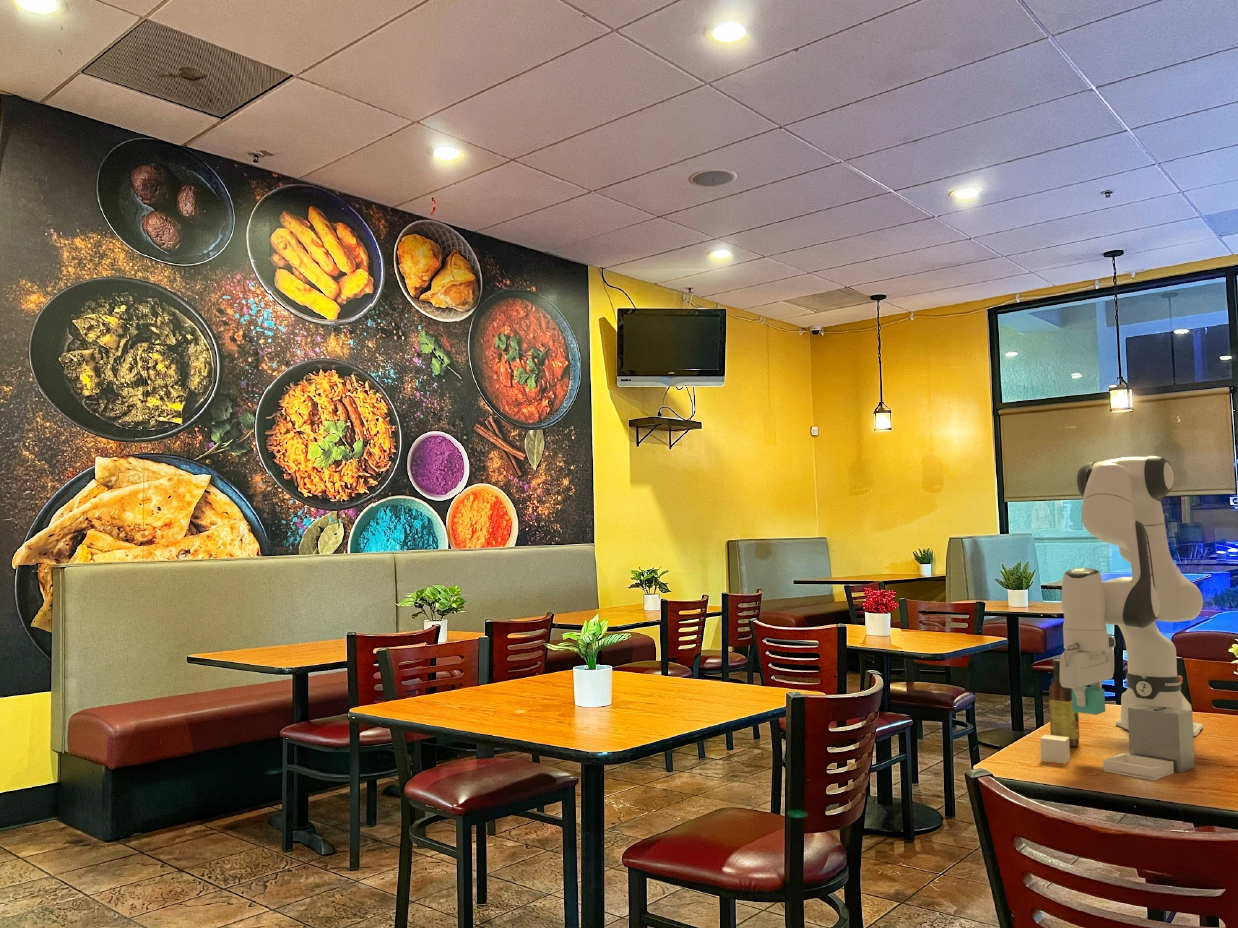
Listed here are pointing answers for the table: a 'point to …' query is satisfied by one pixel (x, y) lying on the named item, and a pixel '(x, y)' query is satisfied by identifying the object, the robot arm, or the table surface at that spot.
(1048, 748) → the cream block
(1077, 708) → the teal block
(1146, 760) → the tray
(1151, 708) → the dispenser
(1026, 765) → the table surface
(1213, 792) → the table surface
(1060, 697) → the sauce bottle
